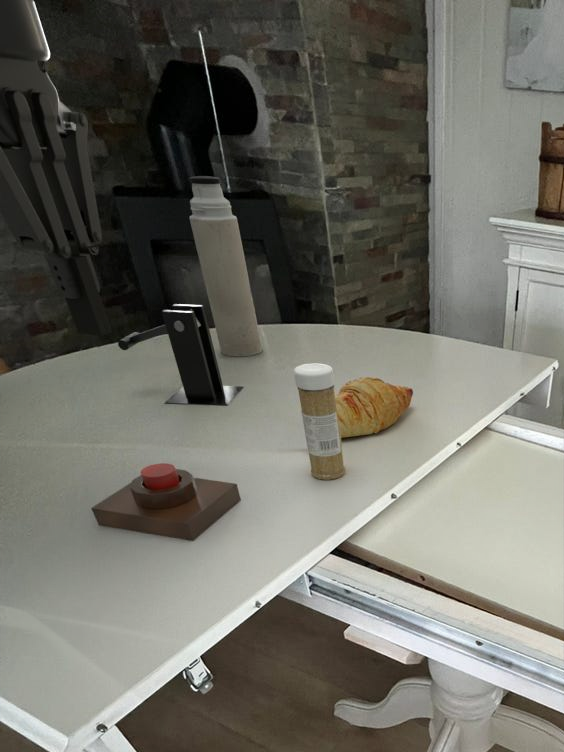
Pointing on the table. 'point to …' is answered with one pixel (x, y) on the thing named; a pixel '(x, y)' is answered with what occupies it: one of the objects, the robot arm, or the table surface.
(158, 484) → the button
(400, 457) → the table surface
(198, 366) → the bracket
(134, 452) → the table surface
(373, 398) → the croissant
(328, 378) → the spice jar
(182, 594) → the table surface
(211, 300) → the thermos bottle
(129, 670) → the table surface
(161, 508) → the button block
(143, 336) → the lever
